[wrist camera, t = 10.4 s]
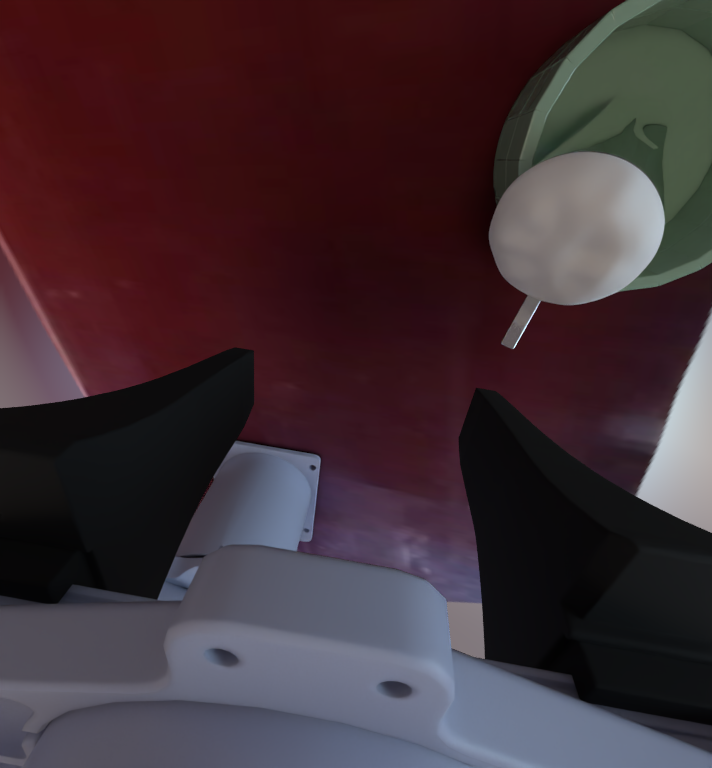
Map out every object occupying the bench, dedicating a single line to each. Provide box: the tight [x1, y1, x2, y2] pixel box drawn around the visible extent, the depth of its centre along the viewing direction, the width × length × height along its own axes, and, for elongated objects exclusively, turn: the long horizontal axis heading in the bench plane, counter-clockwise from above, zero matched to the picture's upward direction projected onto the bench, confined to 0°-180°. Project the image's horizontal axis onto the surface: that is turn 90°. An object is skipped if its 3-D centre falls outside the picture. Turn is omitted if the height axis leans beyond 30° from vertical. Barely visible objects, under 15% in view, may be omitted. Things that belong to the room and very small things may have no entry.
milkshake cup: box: [489, 94, 673, 349], centre depth 13 cm, size 5×5×10 cm
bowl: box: [493, 0, 712, 292], centre depth 15 cm, size 9×9×4 cm
